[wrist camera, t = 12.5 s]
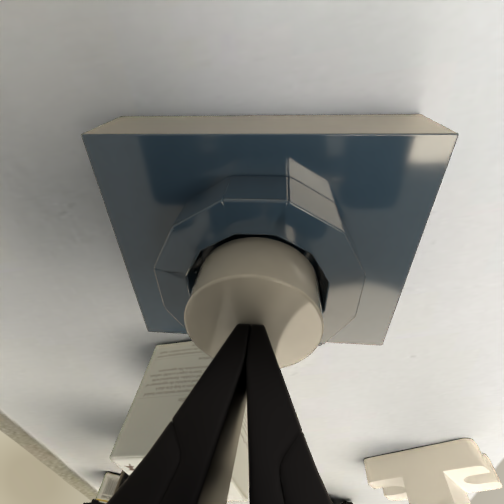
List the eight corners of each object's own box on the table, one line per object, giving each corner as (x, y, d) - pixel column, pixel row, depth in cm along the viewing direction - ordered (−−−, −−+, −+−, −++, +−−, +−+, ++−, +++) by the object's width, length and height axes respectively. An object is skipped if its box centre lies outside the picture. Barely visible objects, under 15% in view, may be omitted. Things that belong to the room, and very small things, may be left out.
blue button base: (368, 302, 17) (394, 383, 13) (166, 292, 18) (131, 365, 14) (422, 113, 11) (499, 154, 7) (120, 115, 12) (40, 152, 8)
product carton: (187, 389, 24) (156, 502, 18) (155, 342, 21) (103, 461, 15) (259, 384, 23) (249, 505, 17) (235, 333, 20) (214, 460, 14)
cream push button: (312, 328, 12) (316, 375, 10) (205, 323, 12) (193, 366, 11) (324, 237, 9) (333, 279, 8) (190, 234, 10) (171, 272, 8)
